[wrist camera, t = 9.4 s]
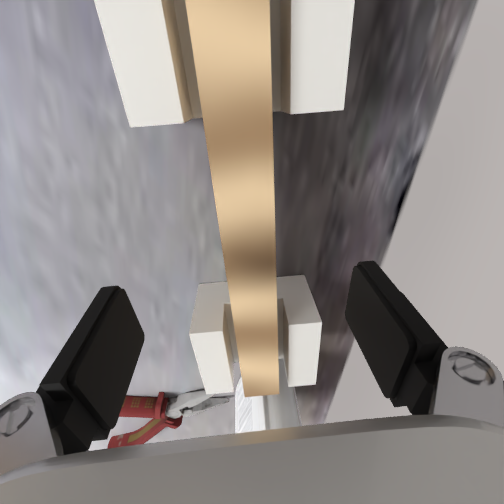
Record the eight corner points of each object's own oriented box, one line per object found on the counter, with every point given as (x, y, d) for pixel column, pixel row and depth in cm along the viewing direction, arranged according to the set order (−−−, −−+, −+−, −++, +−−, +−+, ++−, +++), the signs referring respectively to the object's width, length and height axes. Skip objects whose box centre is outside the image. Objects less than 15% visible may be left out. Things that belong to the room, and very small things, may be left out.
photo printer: (262, 395, 35) (273, 526, 24) (231, 391, 34) (229, 525, 23) (291, 345, 30) (322, 483, 19) (256, 339, 29) (268, 479, 18)
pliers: (241, 407, 37) (241, 427, 35) (117, 437, 39) (110, 457, 37) (207, 359, 31) (205, 379, 29) (65, 398, 34) (53, 419, 32)
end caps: (122, -61, 13) (48, -162, 8) (319, -76, 13) (373, -186, 8) (211, 340, 29) (206, 394, 23) (301, 332, 29) (315, 384, 24)
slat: (187, -60, 11) (165, -129, 8) (257, -66, 11) (266, -137, 8) (243, 357, 26) (244, 397, 22) (273, 354, 26) (279, 394, 22)
